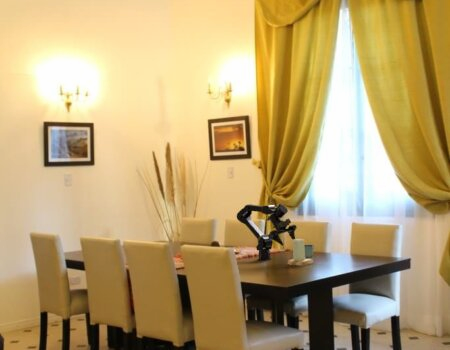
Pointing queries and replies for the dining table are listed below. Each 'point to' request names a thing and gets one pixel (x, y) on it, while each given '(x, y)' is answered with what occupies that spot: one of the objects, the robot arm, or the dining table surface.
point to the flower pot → (309, 251)
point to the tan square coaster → (300, 262)
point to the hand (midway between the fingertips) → (289, 243)
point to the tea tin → (298, 249)
